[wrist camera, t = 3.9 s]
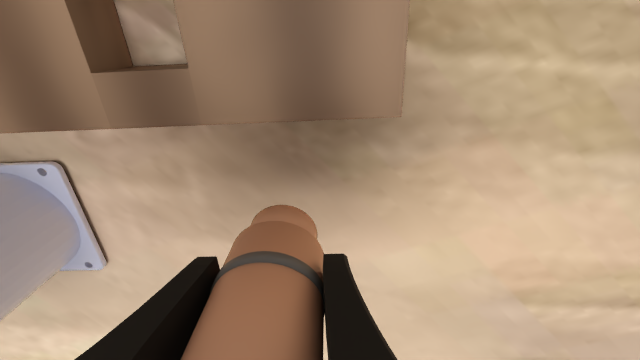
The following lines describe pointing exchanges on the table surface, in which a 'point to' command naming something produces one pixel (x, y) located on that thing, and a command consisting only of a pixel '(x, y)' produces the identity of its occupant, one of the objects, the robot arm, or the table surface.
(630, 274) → the table surface
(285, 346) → the peg
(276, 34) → the board
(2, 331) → the table surface
